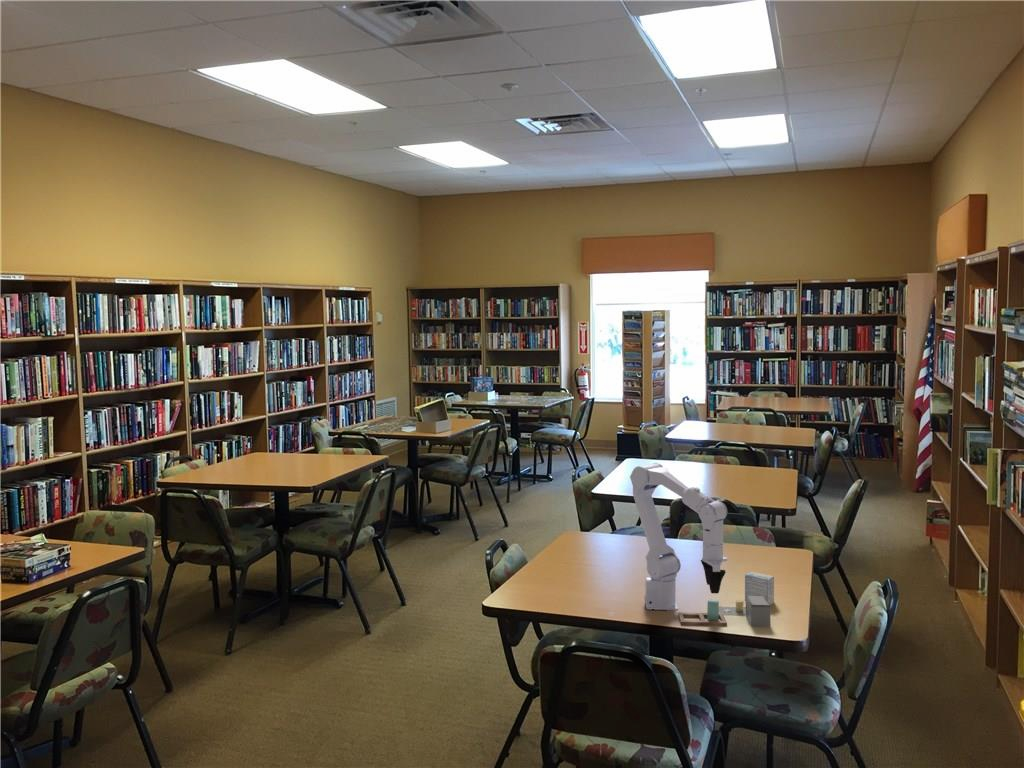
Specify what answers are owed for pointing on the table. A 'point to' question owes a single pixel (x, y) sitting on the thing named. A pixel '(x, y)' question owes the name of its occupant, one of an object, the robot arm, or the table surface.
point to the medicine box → (759, 586)
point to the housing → (758, 611)
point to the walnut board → (701, 619)
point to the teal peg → (713, 610)
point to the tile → (734, 609)
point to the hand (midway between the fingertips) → (712, 588)
